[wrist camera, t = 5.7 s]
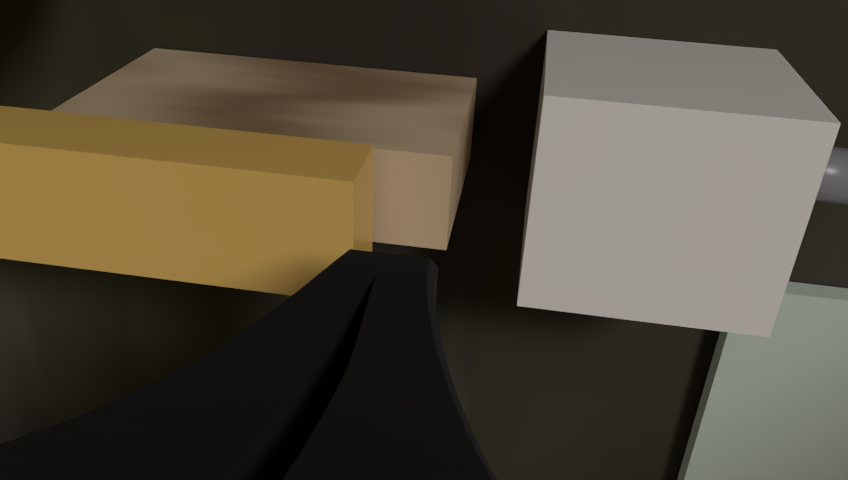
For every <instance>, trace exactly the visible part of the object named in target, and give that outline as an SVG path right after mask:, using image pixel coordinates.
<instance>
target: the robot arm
mask: <svg viewBox="0 0 848 480" xmlns="http://www.w3.org/2000/svg"><path fill="white" fill-rule="evenodd" d="M437 278H438V266H437V265H436V264H435V263H434V261H433V260H432V259H428V258H419V257H411V256H403V255H395V254H387V253H378V252H370V251H362V250H354V249H350V250H348V251H347V252H346V253H344V254H343V255H342V256H341V257H339V258H338V259H337V260H335V261H334V262H333V263H332V264H330V265H329V266H328V267H327V268H325V269H324V270H323V271H322V272H320V273H319V274H318V275H317V276H316V277H314V278H313V279H312V280H311V281H309V282H308V283H307V284H306V285H304V286H303V287H302V288H301V289H299V290H298V291H297V292H296V293H294V294H293V295H292V296H290V297H289V298H288V299H286V300H285V301H284V302H283V303H281V304H280V305H279V306H277V307H276V308H275V309H273V310H272V311H271V312H269V313H268V314H267V315H265V316H264V317H263V318H261V319H260V320H258V321H257V322H255V323H254V324H252V325H251V326H249V327H248V328H246V329H245V330H243V331H242V332H240V333H239V334H238V335H236V336H235V337H233V338H232V339H230V340H229V341H227V342H226V343H224V344H223V345H221V346H219V347H218V348H216V349H215V350H213V351H211V352H210V353H208V354H206V355H204V356H203V357H201V358H199V359H198V360H196V361H194V362H192V363H190V364H189V365H187V366H185V367H183V368H181V369H179V370H177V371H176V372H174V373H172V374H170V375H168V376H166V377H164V378H162V379H160V380H159V381H157V382H155V383H153V384H150V385H148V386H146V387H144V388H142V389H139V390H137V391H135V392H133V393H130V394H128V395H126V396H124V397H122V398H119V399H117V400H115V401H113V402H110V403H108V404H106V405H104V406H102V407H99V408H97V409H95V410H93V411H90V412H88V413H85V414H83V415H81V416H78V417H75V418H73V419H70V420H67V421H65V422H62V423H60V424H57V425H54V426H52V427H49V428H46V429H44V430H41V431H38V432H35V433H32V434H29V435H26V436H23V437H20V438H18V439H15V440H12V441H9V442H6V443H3V444H0V480H497V478H496V477H495V475H494V473H493V471H492V470H491V468H490V466H489V465H488V463H487V461H486V459H485V457H484V455H483V453H482V451H481V449H480V447H479V445H478V443H477V441H476V439H475V436H474V434H473V432H472V430H471V428H470V425H469V423H468V421H467V418H466V416H465V414H464V411H463V409H462V406H461V404H460V401H459V398H458V396H457V393H456V390H455V387H454V384H453V381H452V378H451V375H450V371H449V368H448V365H447V362H446V358H445V354H444V350H443V346H442V342H441V337H440V332H439V327H438V322H437V316H436V294H437Z"/></svg>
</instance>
